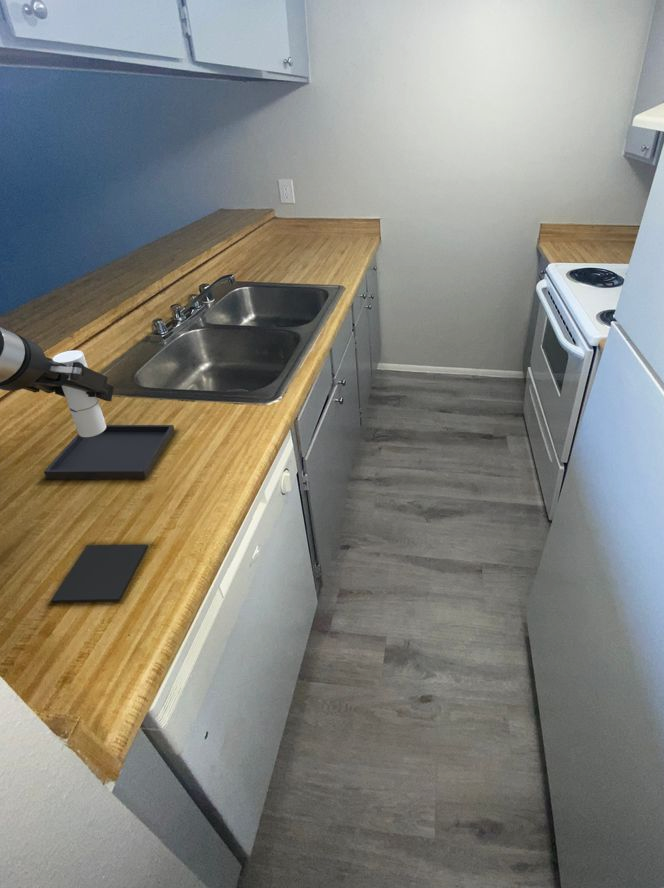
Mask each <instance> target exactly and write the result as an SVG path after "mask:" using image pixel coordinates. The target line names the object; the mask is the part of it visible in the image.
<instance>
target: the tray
mask: <svg viewBox="0 0 664 888" xmlns="http://www.w3.org/2000/svg"><path fill="white" fill-rule="evenodd" d="M175 433H176V429H175V427H174V424H106V429H105V430H104V431H103V432H102V433H100V434H98V435H96V436H92V437H81V436H80V435H79V434H78V433H77V434H76V435H75V436H74V438H72V440H71V441H70V442H69V443H68V444H67V445H66V447H65V448H63V450H62V451H61V452H60V453H59V454H58V455H57V456H56V457H55V459H53V461H52V462H51V463H50V464H49V465H48V466H47V467H46V468H45V469H44V471H43V473H44V475H45V478H46V480H146V479H147V478H148V476H149V475H150V473H151V472H152V470H153V468H154V467H155V465H156V464H157V462H158V460H159V459H160V457H161V456H162V454H163V452H164V450H165V449H166V447H167V445H168V444H169V443H170V441H171V439H172V437H173V436H174V435H175Z"/></svg>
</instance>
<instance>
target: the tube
mask: <svg viewBox="0 0 664 888" xmlns="http://www.w3.org/2000/svg"><path fill="white" fill-rule="evenodd" d="M51 359H52V360H53V361H55V362H58V363H61V364H65V365H66V366H67V367H70V364H73V362H80V363H82V364H83V365H84V367H87V368H89V367H88V363H87V360H86V358H85V355H84V352H83V350H76V349H74V350H67V351H66V350H65V351H62V352H59V353H57V354H55V355H54V356H53V357H52V358H51ZM62 389H63V392H64V394H65V397H64V398H65V399H66V403H67V405H68V408H69V412H70V415H71V416H72V420H73V423H74V425H75V429H76V431H77V434H79V435H80V436H81V437H92V436H96V435H98V434H100V433H102V432H103V431H104V430H105V429H106V425H107V422H106V419H105V417H104V414H103V411H102V408H101V404H100V402H99V398H97V397H88V394H86V391H82V390H78V389H74V388H71V387H67V386H62Z"/></svg>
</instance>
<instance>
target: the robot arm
mask: <svg viewBox="0 0 664 888" xmlns="http://www.w3.org/2000/svg"><path fill="white" fill-rule="evenodd" d="M52 359H53V358H51V357H48V356H46V353H45V352H44V350H43V348H42V347H41V345H39V344H38V343H36V342H35V341H33V340H30V339H29V338H26V337H24V336H22V335H19V334H17V333H13V332H12V331H10V330H7V329H5V328H3V327H1V326H0V390H2V391H7V392H15V391H19V390H25V391H29V392H32V393H39V392H40V391H42V392H43V393H45V394H46V393H47V394H55V395H58V396H61V397H63V398H66V397H65V394H64V392H63V389H62V386H67V387H71V388H74V389H78V390H82V391H86V394H88V397H97V398H98V400H99V399H100V400H102V401H105V402H112V399H113V393H114V389H115V386H114V385H112V384H109V383H108V379H109V378H108V376H106V375H104V374H102V373H100V372H97V371H96V370H94V369H91V368H89V367H88V366H87V367H88V368H87V367H84V365H83V364H82V363H80V362H73V364H70V367H67V366H66V365H65V364H61V363H58V362H55V361H53V360H52Z"/></svg>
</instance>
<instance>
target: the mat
mask: <svg viewBox="0 0 664 888" xmlns="http://www.w3.org/2000/svg"><path fill="white" fill-rule="evenodd" d="M148 548H149V545H148V544H87V545H86V546H85V547H84V548H83V550H82V552H81V554H80V555H79V556H78V558H77V560H76V561H75V563H74V564H73V566H72V567H71V569H70V571H69V572H68V573H67V575H66V577H64V580H63V581H62V582H61V584H60V585H59V587H58V588H57V590H56V592H55V593H54V594H53V596H52V598H51V599H50V602H51V603H52V604H58V603H59V604H60V603H106V602H107V603H112V602H113V603H115V602H116V603H117V602H121V600H122V598H123V596H124V594H125V592H126V591H127V588H128V586H129V584H130V583H131V581H132V579H133V577H134V575H135V573H136V571H137V569H138V567H139V565H140V563H141V562H142V560H143V557H144V555H145V554H146V552H147V550H148Z"/></svg>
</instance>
